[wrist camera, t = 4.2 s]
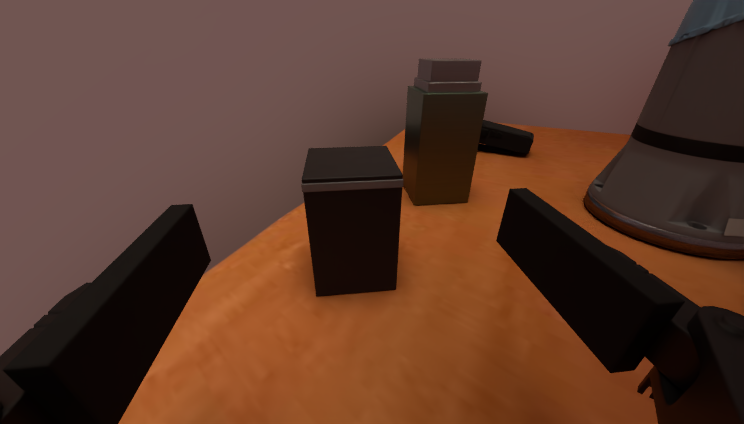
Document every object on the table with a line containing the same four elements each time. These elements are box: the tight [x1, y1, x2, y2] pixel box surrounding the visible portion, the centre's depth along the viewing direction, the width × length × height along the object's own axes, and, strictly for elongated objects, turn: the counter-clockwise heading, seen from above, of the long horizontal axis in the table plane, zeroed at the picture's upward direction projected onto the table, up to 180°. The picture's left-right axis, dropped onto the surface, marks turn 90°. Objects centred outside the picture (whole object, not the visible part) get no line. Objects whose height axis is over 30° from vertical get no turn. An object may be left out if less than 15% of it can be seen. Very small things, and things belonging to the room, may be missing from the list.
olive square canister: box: [403, 59, 488, 205], centre depth 36 cm, size 7×7×16 cm
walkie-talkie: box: [477, 120, 534, 154], centre depth 56 cm, size 6×6×20 cm
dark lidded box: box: [302, 146, 403, 296], centre depth 23 cm, size 6×6×10 cm
